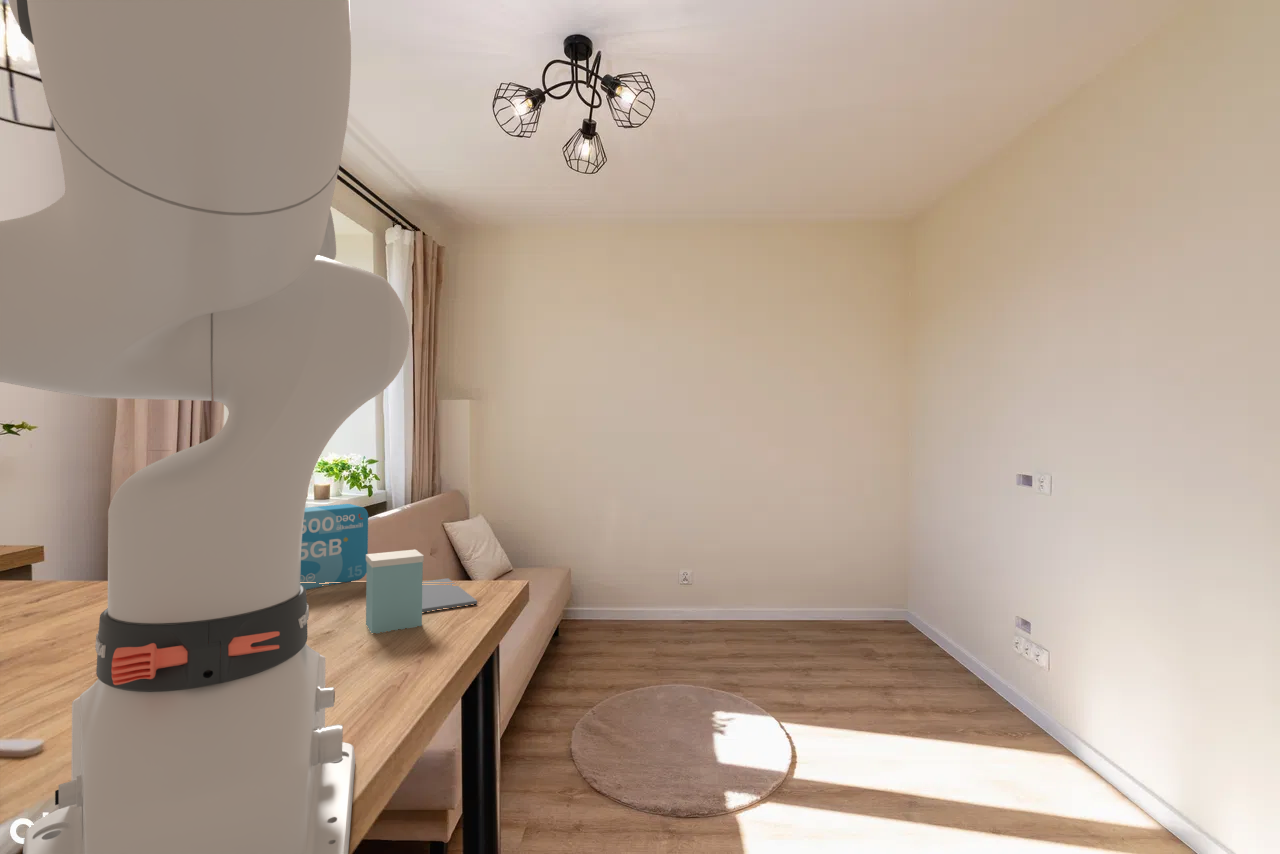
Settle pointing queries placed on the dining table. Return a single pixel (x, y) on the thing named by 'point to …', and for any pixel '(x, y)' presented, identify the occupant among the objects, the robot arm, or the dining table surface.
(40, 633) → the dining table surface
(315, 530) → the data package
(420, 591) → the tea tin
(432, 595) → the felt mat
